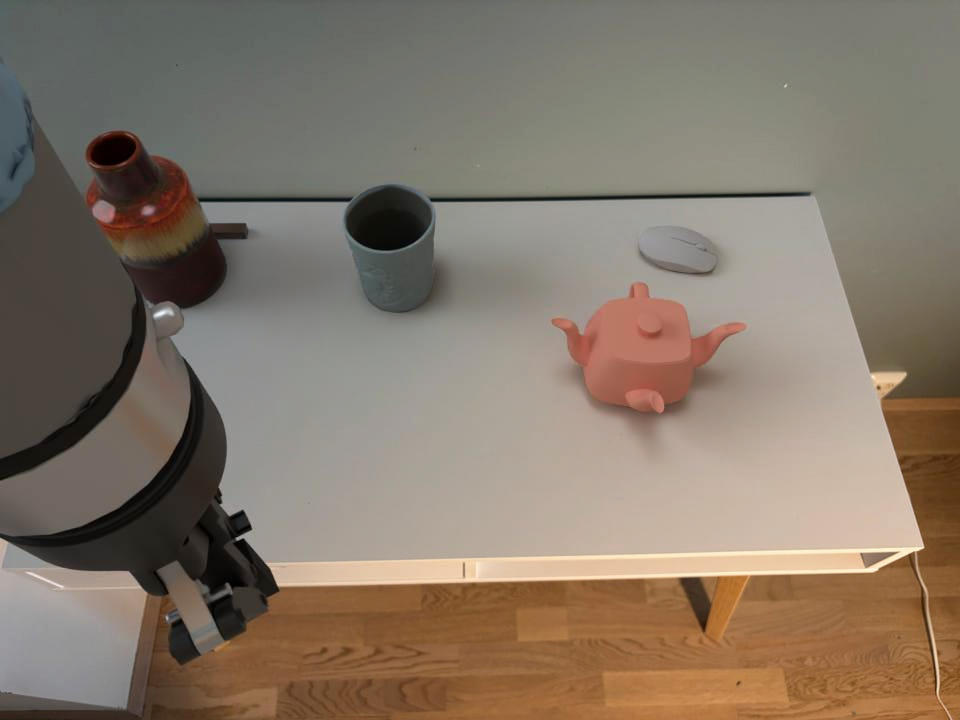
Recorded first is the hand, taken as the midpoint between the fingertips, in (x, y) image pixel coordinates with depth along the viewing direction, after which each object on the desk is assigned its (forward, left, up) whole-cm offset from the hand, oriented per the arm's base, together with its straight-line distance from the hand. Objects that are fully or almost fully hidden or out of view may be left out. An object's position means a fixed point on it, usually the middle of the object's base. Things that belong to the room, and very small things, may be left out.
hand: (253, 591), depth 43 cm
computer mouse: (+58, +21, -29) cm, 68 cm away
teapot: (+42, +9, -29) cm, 51 cm away
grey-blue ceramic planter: (+26, +35, -29) cm, 52 cm away
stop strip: (+7, +55, -29) cm, 63 cm away
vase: (+3, +50, -29) cm, 58 cm away
